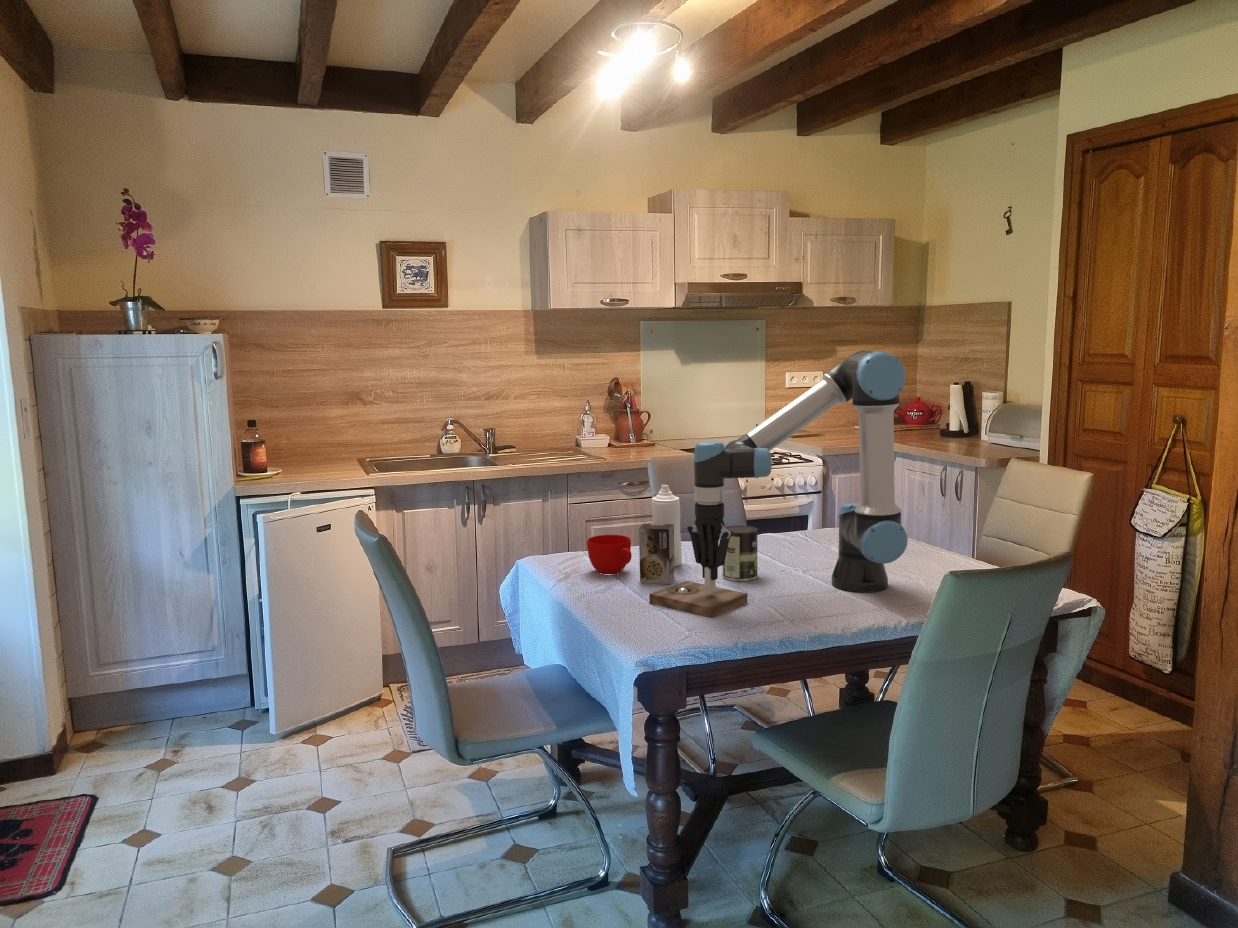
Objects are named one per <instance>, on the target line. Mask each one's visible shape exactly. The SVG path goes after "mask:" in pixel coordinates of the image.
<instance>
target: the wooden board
mask: <svg viewBox="0 0 1238 928" xmlns="http://www.w3.org/2000/svg"><path fill="white" fill-rule="evenodd" d="M680 588H686V589H687V590H688V592H687V593H679V592H677V591H678V589H680ZM747 603H748V593H747V592H742V591H738V590H732V589H727V588H723V587H720V586H719V587H717V586H716V591H713V592H711V593H707V592H705V583H704V584H703V583H699V582H694V581H690V580H685V581H682V582H678V583H676V584H673V585H671V586H668V587H664V588H661V589H659V590H656V591H654V592H651V593H649V604H653V605H656V606H659V607H660V606H662V607H665V608H670V609H673V610H677V611H682V612H686V613H690V614H695V615H699V616H703V617H708V618H714V617H716V616H719V615H721V614H724V613H726V612H728V611H731V610H734V609H736V608H739V607H741V606H743V605H745V604H747Z"/></svg>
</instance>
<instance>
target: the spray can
mask: <svg viewBox="0 0 1238 928" xmlns="http://www.w3.org/2000/svg"><path fill="white" fill-rule="evenodd" d="M660 487H661V488H660V489H659V491H658V492H657V493H658V494H656V495H655V496H653V497H651V500H650V501H651V515H652V518H651V519H652V524H674V567H679V566H681V565H682V564H683V556H682V555H683V554H682V539H681V504H680V503H681V502H680V497H678V496H675V495H674V494H673V492H672V491H671V489H670V487H669V485H667V484H661V486H660Z"/></svg>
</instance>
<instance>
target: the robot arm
mask: <svg viewBox="0 0 1238 928" xmlns="http://www.w3.org/2000/svg"><path fill="white" fill-rule="evenodd" d="M906 375H907V374H906V369H905V367H904V365H903V363H902V362H901V360H899V359H898V357H896V356H894V355H893V354H891V353H889V352H886V351H881V350H880V351H879V350H878V351H877V350H876V351H874V350H872V351H871V350H859V351H856V352H854V353H851V354H850V355H848V356H847V357H846V358H844V359H843V360H841V361H840V362H839V363H837V364H836V365H835V366H833V367H832V368H831V369H829V370H828V371H826V372H825V373H824V374H823V376H822V380H821V381H819V382H818V383H816V384H815V385H813V386H812V387H810V388H809V389H808V390H806V391H805V392H803V393H802V394H801V395H800V394H799V396H798V397H796V398H794V399H793V400H792V401H790V402H789V403H787V404H786V405H785V406H784V407H782V408H780V409H779V410H778V411H776V412H775V413H773V414H772V415H770V416H769V417H768V418H766V419H765V420H764V421H762V422H761V423H759V424H757V425H756V426H755V427H753V428H752V429H751V430H749V431H748V432H746V433H745V434H743V435H742V436H740V437H738V438H737V439H736V440H735V439H734V440H730V441H728V442H727V443H726V444H725V445H724V442H722V441H717V440H714V441H713V440H706V441H705V440H704V441H699V442H696V444H695V446H694V457H693V458H694V459H693V465H694V466H693V467H694V501H695V503H694V517H696V518H695V519H694V520H695V521H694V524H692V525H690V526H689V525H688V526H687V528H686V529H687V532H688V533H689V535H690V540H691V544H692V551H693V556H694V560H695V562H696V564H699V565H701V567H702V568H701V569H702V574H701V575H702V579H704V585H705V592H707V593H711V592H713V591H716V587H717V586H716V584H717V582H716V580H718V577H719V576H718V575H719V574H718V573H719V571H718V569H719V567H722V565H724V563H725V558H726V553H727V548H728V544H729V539H730V537H731V536H732V534H733V532H732V531H731V530H730V531H728V530H727V529H726V528H725V527H726V524H725V522H724V517H725V503H724V500H725V479H751V478H752V479H753V478H755V479H759V478H767V477H769V476H770V474H771V472H772V468H773V467H772V464H773V463H772V461H773V459H772V454H771V451H772V450H773V449H775V448H776V447H778V446H779V445H781V444H782V443H784V442H785V441H786V440H788V439H789V438H791V437H793V436H794V435H795V434H797V433H798V432H799V431H801V430H802V429H803V428H805V427H806V426H808V425H809V424H811V423H812V422H814V421H816V419H818V418H819V417H821V416H823V415H824V414H825V413H827V412H828V411H830V410H831V409H833V408H834V407H836V406H837V405H838V404H841V405H842V404H843V405H845V404H846V403H848V402H849V401H852V407H853V408H854V409H855V410H856V411H857V412H858V437H859V438H858V440H859V441H858V442H859V485H860V486H859V491H860V492H859V495H860V496H859V497H860V501H859V502H851V503H843V504H841V505H840V506H839V514H838V557H837V560H836V563H835V566H834V567H833V568H834V569H833V572H832V575H831V585H832V586H833V587H835V588H837V589H839V590H843V591H848V592H856V593H872V592H873V593H874V592H879V591H880V592H881V591H883V590H886V589H888V586H889V577H888V574H887V571H886V567H885V564H886V565H887V564H891V563H892V562H895V561H897V560H898V559H899V558H900V557H901V556H902V555H903V554H904V553H905V551H906V550H907V546H908V534H907V532H906V530H905V528H904V527H903V525H902V509H901V508H900V507H899V505H897V504H896V501H895V500H896V499H895V498H896V497H895V495H896V494H895V492H896V491H895V435H894V434H895V433H894V432H895V428H894V427H895V426H894V425H895V424H894V420H895V419H894V412H895V410H896V409H897V408H898V406H900V405H901V404H900V400H901V399H900V397H901V396H900V395H901V394H900V393H901V391H902V390H903V389H904V386H905V384H906V380H907V376H906Z"/></svg>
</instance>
